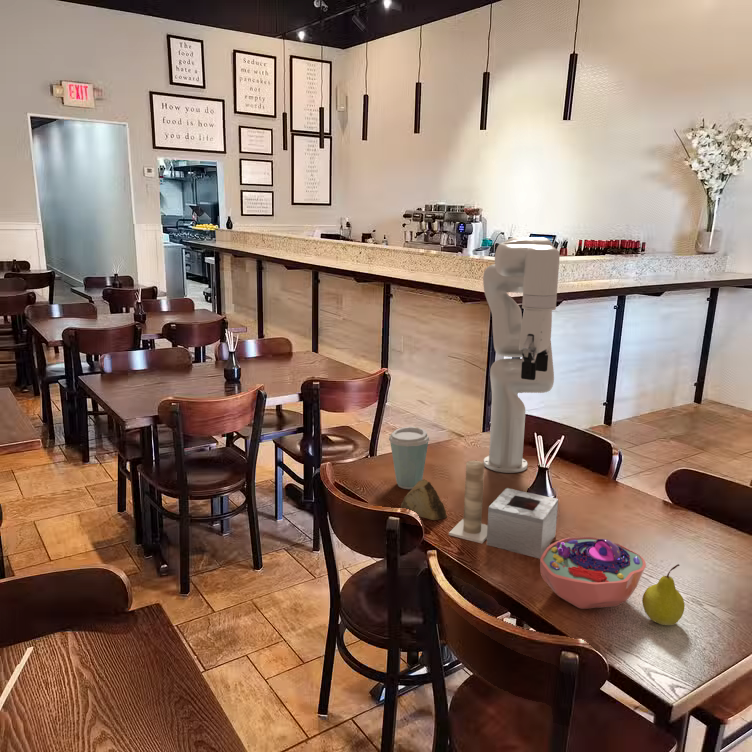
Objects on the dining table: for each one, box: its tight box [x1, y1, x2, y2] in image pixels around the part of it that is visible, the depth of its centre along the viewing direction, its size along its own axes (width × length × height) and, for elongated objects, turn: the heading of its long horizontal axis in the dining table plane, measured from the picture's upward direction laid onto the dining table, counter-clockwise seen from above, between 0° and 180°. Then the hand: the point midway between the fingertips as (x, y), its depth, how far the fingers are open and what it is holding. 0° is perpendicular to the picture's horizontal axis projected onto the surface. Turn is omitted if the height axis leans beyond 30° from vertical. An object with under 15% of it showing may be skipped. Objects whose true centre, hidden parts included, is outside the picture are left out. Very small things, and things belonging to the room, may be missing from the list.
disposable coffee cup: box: [388, 426, 430, 490], centre depth 175 cm, size 11×11×15 cm
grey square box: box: [486, 487, 559, 560], centre depth 146 cm, size 12×12×9 cm
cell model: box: [539, 536, 647, 610], centre depth 124 cm, size 17×20×11 cm
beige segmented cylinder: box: [463, 460, 485, 534], centre depth 149 cm, size 4×4×16 cm
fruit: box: [641, 563, 685, 626], centre depth 117 cm, size 7×7×12 cm
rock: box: [400, 479, 448, 521], centre depth 160 cm, size 11×9×10 cm
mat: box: [448, 518, 488, 545], centre depth 151 cm, size 8×8×1 cm
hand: (534, 374), depth 155 cm, fingers open, 9 cm apart
